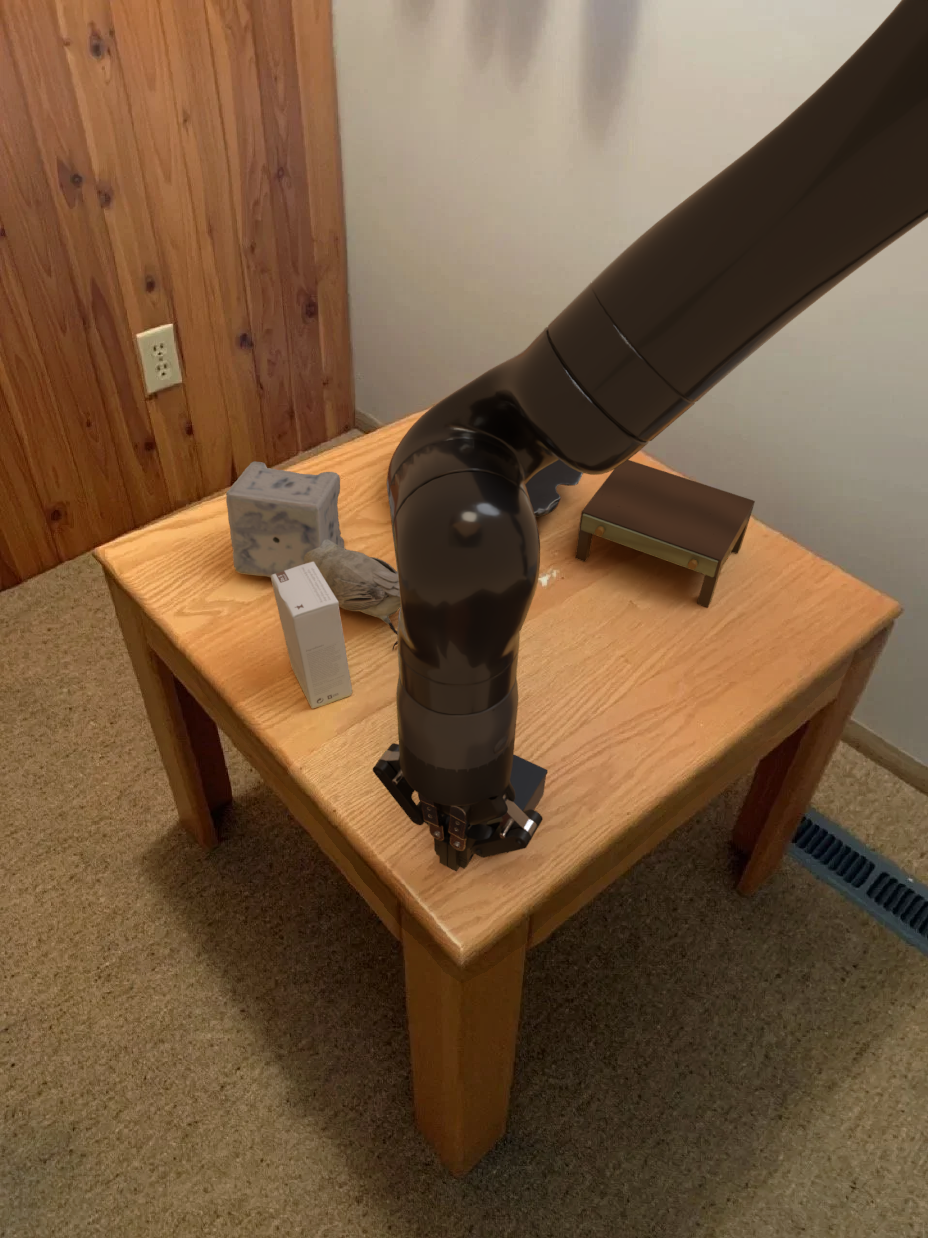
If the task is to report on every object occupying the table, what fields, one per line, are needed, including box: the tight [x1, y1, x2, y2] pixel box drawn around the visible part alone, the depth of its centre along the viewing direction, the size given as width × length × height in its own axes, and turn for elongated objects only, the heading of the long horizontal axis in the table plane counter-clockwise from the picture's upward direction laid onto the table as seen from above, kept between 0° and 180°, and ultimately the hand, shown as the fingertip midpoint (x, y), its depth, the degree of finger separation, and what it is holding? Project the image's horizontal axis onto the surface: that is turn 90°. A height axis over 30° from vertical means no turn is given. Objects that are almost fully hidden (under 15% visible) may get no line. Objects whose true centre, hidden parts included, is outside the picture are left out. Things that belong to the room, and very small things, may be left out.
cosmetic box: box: [270, 562, 353, 709], centre depth 81 cm, size 6×4×12 cm
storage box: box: [481, 753, 549, 854], centre depth 74 cm, size 7×6×4 cm
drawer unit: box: [574, 459, 756, 608], centre depth 96 cm, size 12×15×6 cm
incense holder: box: [225, 460, 346, 578], centre depth 93 cm, size 10×8×10 cm
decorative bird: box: [304, 539, 401, 650], centre depth 89 cm, size 5×16×8 cm, turn 50°
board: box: [526, 460, 584, 518], centre depth 104 cm, size 22×22×5 cm
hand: (454, 858), depth 69 cm, fingers closed
